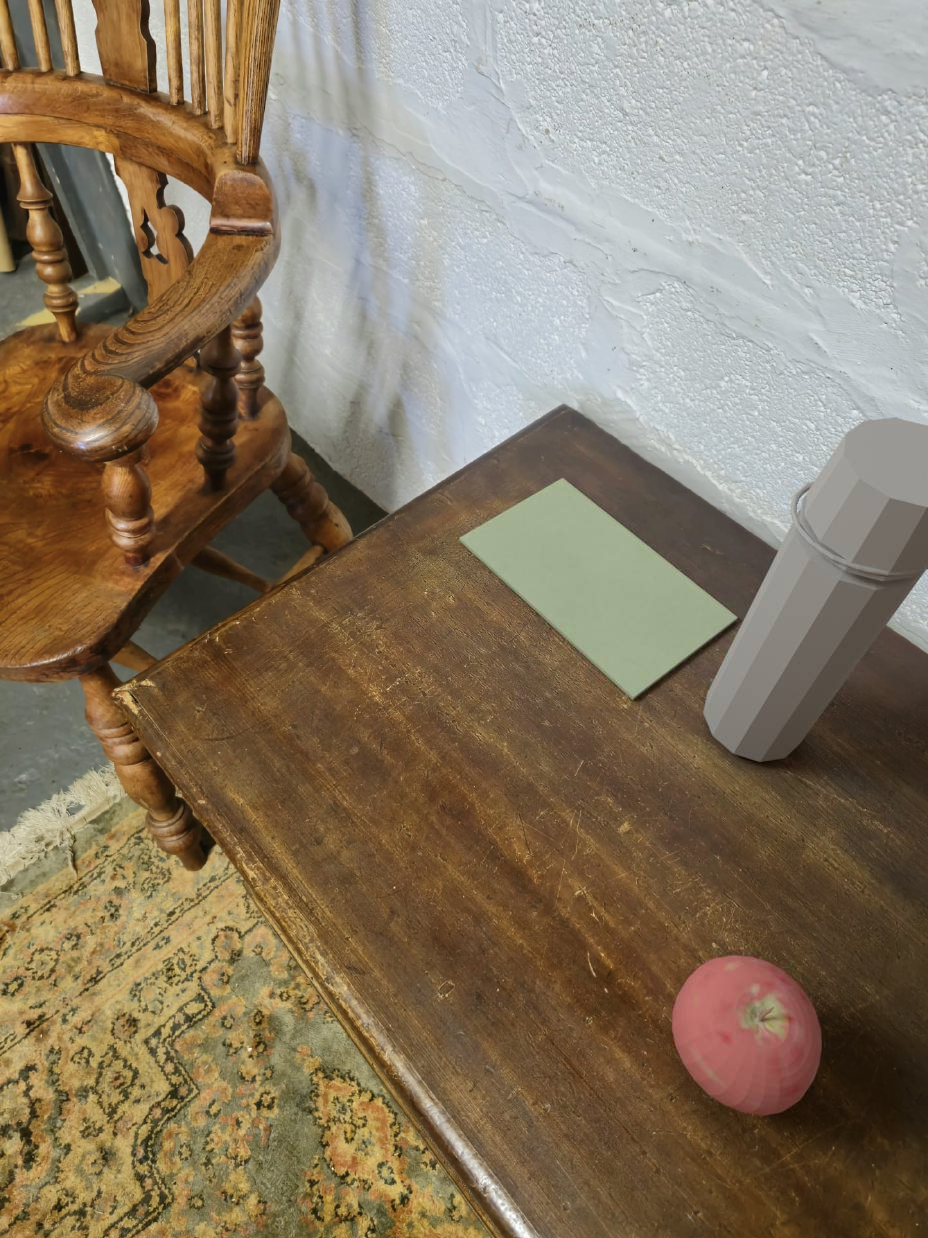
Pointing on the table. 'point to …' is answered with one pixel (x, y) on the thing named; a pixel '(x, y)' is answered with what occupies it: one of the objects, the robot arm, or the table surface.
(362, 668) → the table surface
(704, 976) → the apple
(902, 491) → the water bottle
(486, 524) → the mat
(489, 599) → the table surface
